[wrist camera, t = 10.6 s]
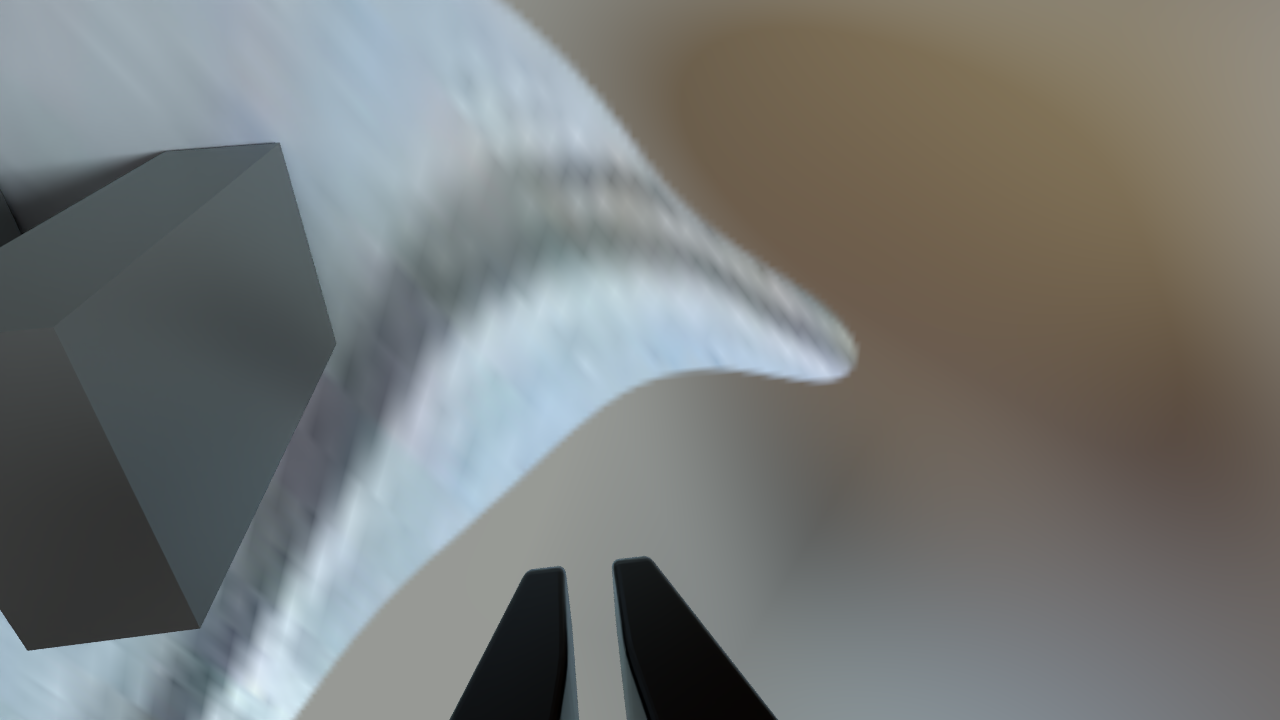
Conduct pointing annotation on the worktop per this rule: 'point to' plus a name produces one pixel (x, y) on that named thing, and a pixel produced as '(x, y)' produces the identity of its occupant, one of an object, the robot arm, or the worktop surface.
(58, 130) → the worktop surface
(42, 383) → the domino
